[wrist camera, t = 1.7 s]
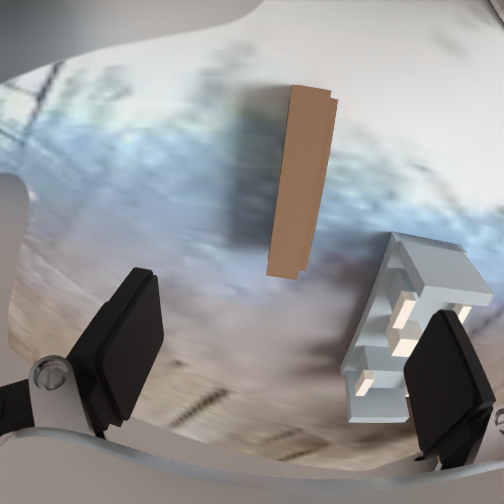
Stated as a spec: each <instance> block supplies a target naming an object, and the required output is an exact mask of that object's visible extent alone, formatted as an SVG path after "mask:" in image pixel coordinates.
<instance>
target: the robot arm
mask: <svg viewBox="0 0 504 504" xmlns="http://www.w3.org/2000/svg"><path fill="white" fill-rule="evenodd" d="M490 2H491V4H492V5H493V7H494V9H495V10H496V12H497V14H498V15H499V17H500V18H501V19H502V21H503V22H504V0H490ZM163 339H164V331H163V323H162V315H161V306H160V297H159V287H158V278H157V276H156V275H153V272H152V270H149V269H143V268H137V267H135V268H133V269H132V271H131V272H130V273H129V275H128V276H127V277H126V279H125V280H124V281H123V283H122V284H121V285H120V287H119V288H118V289H117V291H116V292H115V293H114V295H113V296H112V297H111V299H110V300H109V301H108V302H105V303H104V305H103V306H102V307H101V308H100V310H99V311H98V312H97V314H96V315H95V317H94V318H93V319H92V321H91V322H90V324H89V325H88V326H87V328H86V329H85V331H84V332H83V334H82V335H81V337H80V338H79V339H78V341H77V342H76V344H75V345H74V347H73V348H72V350H71V351H70V353H69V354H68V356H67V357H66V358H64V357H61V356H57V355H50V356H46V357H43V358H41V359H39V360H38V361H37V362H35V364H34V365H33V366H32V367H31V370H30V372H29V379H25V380H23V381H19V382H16V383H13V384H9V385H6V386H2V387H0V504H504V405H498V406H496V407H495V408H494V409H493V406H492V405H493V404H494V402H495V401H496V399H495V396H494V394H493V391H492V389H491V386H490V384H489V381H488V379H487V377H486V374H485V372H484V370H483V367H482V365H481V363H480V361H479V359H478V356H477V354H476V352H475V350H474V348H473V346H472V344H471V342H470V340H469V338H468V336H467V334H466V332H465V330H464V328H463V326H462V324H461V322H460V320H459V318H458V316H457V314H456V313H455V311H453V310H443V309H440V310H438V311H437V312H436V313H434V314H433V315H432V317H431V319H430V321H429V323H428V324H427V326H426V328H425V330H424V332H423V334H422V335H421V337H420V339H419V341H418V343H417V344H416V346H415V348H414V350H413V351H412V353H411V355H410V356H409V358H408V360H407V361H406V363H405V365H404V368H403V374H404V378H405V382H406V386H407V390H408V395H409V399H410V403H411V408H412V412H413V417H414V422H415V427H416V432H417V437H418V442H419V447H420V450H421V451H423V454H424V459H426V458H433V457H437V456H439V459H440V461H439V463H438V465H437V467H436V468H435V470H434V471H433V472H427V473H420V474H413V475H404V476H395V477H384V478H368V479H338V480H337V479H299V478H284V477H272V476H263V475H253V474H246V473H238V472H233V471H226V470H220V469H215V468H210V467H204V466H200V465H195V464H190V463H186V462H182V461H177V460H173V459H169V458H165V457H161V456H158V455H154V454H150V453H147V452H143V451H140V450H136V449H133V448H130V447H126V446H123V445H120V444H117V443H114V442H111V441H109V440H108V438H107V435H106V432H105V431H106V430H107V429H108V426H109V424H112V425H115V426H118V427H121V425H122V423H123V420H125V421H127V420H128V419H129V418H130V416H131V413H132V411H133V409H134V406H135V404H136V402H137V399H138V397H139V395H140V393H141V390H142V388H143V386H144V383H145V381H146V379H147V377H148V374H149V372H150V370H151V368H152V365H153V363H154V361H155V359H156V356H157V354H158V352H159V350H160V348H161V345H162V343H163Z"/></svg>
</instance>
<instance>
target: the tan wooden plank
mask: <svg viewBox="0 0 504 504" xmlns="http://www.w3.org/2000/svg"><path fill="white" fill-rule="evenodd" d="M330 95H331V91H330V90H325V89H319V88H313V87H307V86H300V85H293V84H292V90H291V98H290V101H289V109H288V116H287V124H286V132H285V140H284V147H283V155H282V163H281V170H280V182H279V187H278V193H277V199H276V206H275V214H274V221H273V228H272V235H271V242H270V249H269V255H268V266H267V273H266V275H268V276H274V277H281V278H287V279H294V280H297V278H298V273H299V270H302V271H306V268H307V264H308V259H309V255H310V250H311V245H312V241H313V236H314V231H315V227H316V222H317V217H318V212H319V207H320V202H321V197H322V192H323V186H324V181H325V176H326V170H327V165H328V159H329V153H330V148H331V142H332V136H333V130H334V123H335V117H336V110H337V104H338V100H337V99H334V98H330Z"/></svg>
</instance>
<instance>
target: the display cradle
mask: <svg viewBox="0 0 504 504" xmlns="http://www.w3.org/2000/svg"><path fill="white" fill-rule="evenodd" d="M466 255H467V252H466V251H465V250H464V249H463V247H462V246H461V245H456V244H451V243H447V242H442V241H437V240H432V239H427V238H422V237H416V236H411V235H406V234H401V233H395V232H391V236H390V239H389V242H388V245H387V248H386V251H385V254H384V257H383V260H382V263H381V266H380V269H379V272H378V275H377V277H376V280H375V283H374V286H373V288H372V291H371V294H370V296H369V299H368V302H367V304H366V307H365V309H364V312H363V315H362V317H361V320H360V322H359V324H358V327H357V329H356V332H355V334H354V336H353V339H352V341H351V343H350V346H349V348H348V350H347V353H346V355H345V357H344V359H343V361H342V364H341V366H340V372H341V376H344V377H345V386H346V399H347V414H348V422H355V423H396V422H405V421H406V420H407V419H408V418H409V412H408V407H407V402H406V397H409V395H408V390H407V386H406V382H405V378H404V374H403V368H404V365H405V363H406V361H407V360H408V358H409V356H410V355H411V353H412V351H413V350H414V348H415V346H416V344H417V343H418V341H419V339H420V337H421V335H422V334H423V332H424V330H425V328H426V326H427V324H428V323H429V321H430V319H431V317H432V315H433V314H434V313H436V312H437V311H438V310H440V309H443V310H453V311H455V313H456V314H457V316H458V318H459V320H460V322H461V324H462V323H463V322H464V320H465V318H466V316H467V315H468V313H469V311H470V309H471V305H478V306H487V307H488V305H489V303H490V301H491V299H492V297H493V295H494V294H493V292H492V291H491V289H490V288H489V286H488V285H487V284H486V282H485V281H484V279H483V278H482V277H481V275H480V274H479V272H478V271H477V270H476V268H475V267H474V266H473V264H472V263H471V262H470V260H469V259H468V258H467V256H466Z"/></svg>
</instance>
